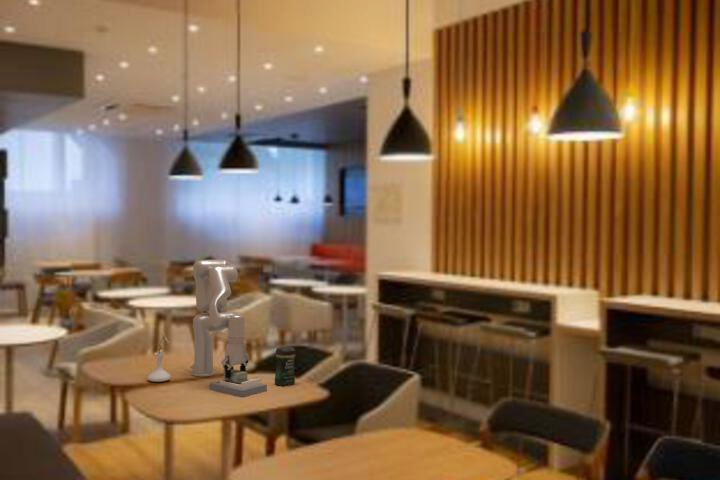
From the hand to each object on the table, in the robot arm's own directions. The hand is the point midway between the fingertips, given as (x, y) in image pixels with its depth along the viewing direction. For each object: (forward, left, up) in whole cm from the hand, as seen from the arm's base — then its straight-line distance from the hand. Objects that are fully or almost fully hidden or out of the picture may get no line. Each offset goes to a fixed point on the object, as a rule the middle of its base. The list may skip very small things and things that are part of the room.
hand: (235, 376), depth 347 cm
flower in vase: (-41, -12, -7) cm, 43 cm away
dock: (+2, 0, -6) cm, 7 cm away
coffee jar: (+10, +24, -7) cm, 27 cm away
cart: (0, 0, -3) cm, 3 cm away
